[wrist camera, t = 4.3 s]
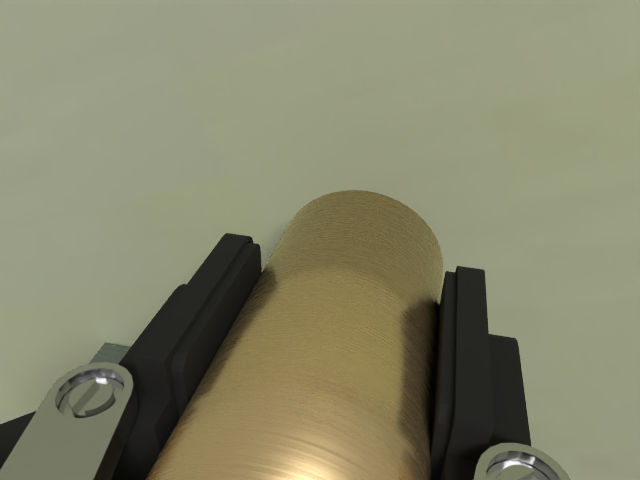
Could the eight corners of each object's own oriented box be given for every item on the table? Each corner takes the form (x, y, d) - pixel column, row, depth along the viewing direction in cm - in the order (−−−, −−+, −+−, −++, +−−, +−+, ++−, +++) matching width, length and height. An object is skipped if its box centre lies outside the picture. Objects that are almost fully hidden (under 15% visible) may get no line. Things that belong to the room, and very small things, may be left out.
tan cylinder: (455, 201, 12) (440, 717, 4) (431, 337, 14) (393, 842, 6) (281, 181, 12) (1, 587, 5) (283, 312, 14) (91, 738, 7)
